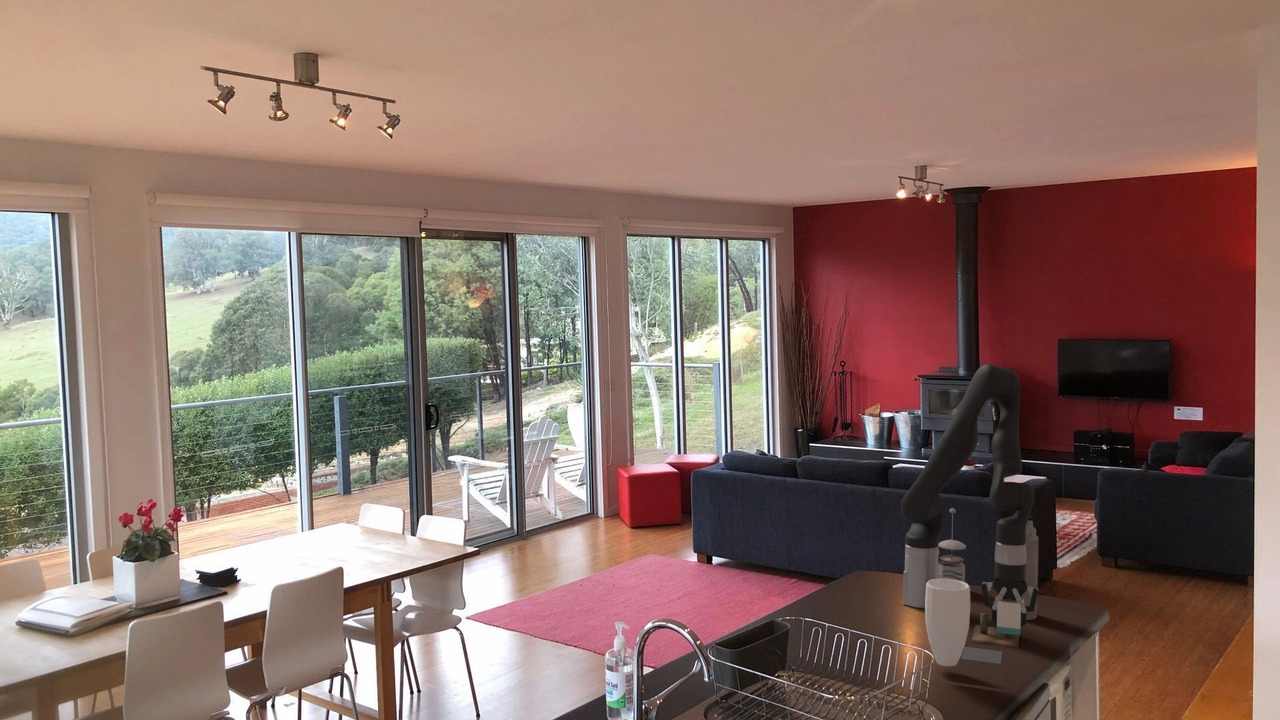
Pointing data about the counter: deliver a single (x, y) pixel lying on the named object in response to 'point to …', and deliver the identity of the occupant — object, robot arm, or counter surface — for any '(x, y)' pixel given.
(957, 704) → the counter surface
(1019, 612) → the sleeve
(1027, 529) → the thermos bottle
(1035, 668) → the counter surface
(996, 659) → the pad
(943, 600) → the cup
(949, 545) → the french press
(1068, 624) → the counter surface
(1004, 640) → the pin board
